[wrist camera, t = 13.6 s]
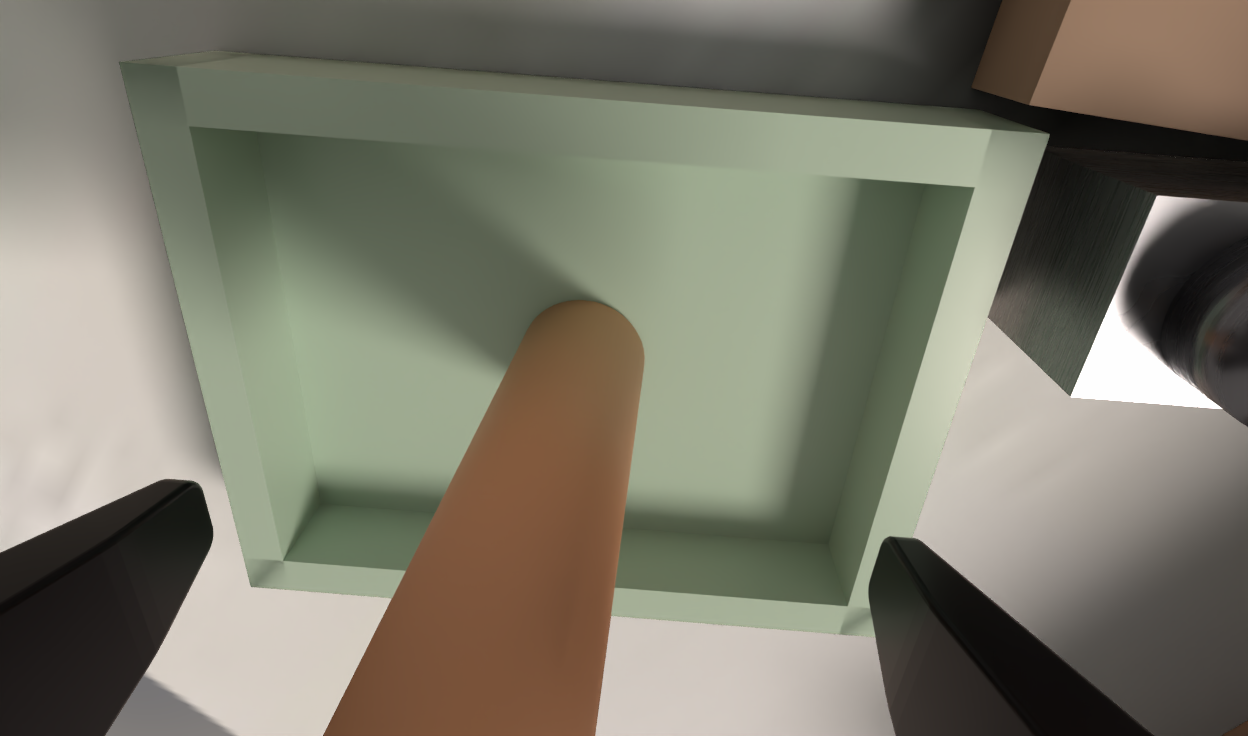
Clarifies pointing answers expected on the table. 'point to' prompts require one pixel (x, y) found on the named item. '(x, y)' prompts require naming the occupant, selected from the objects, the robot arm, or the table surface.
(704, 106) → the tray
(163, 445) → the table surface
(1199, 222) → the grey boxy piece
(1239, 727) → the tissue box cover
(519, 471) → the dowel
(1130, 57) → the tan rectangular slab
